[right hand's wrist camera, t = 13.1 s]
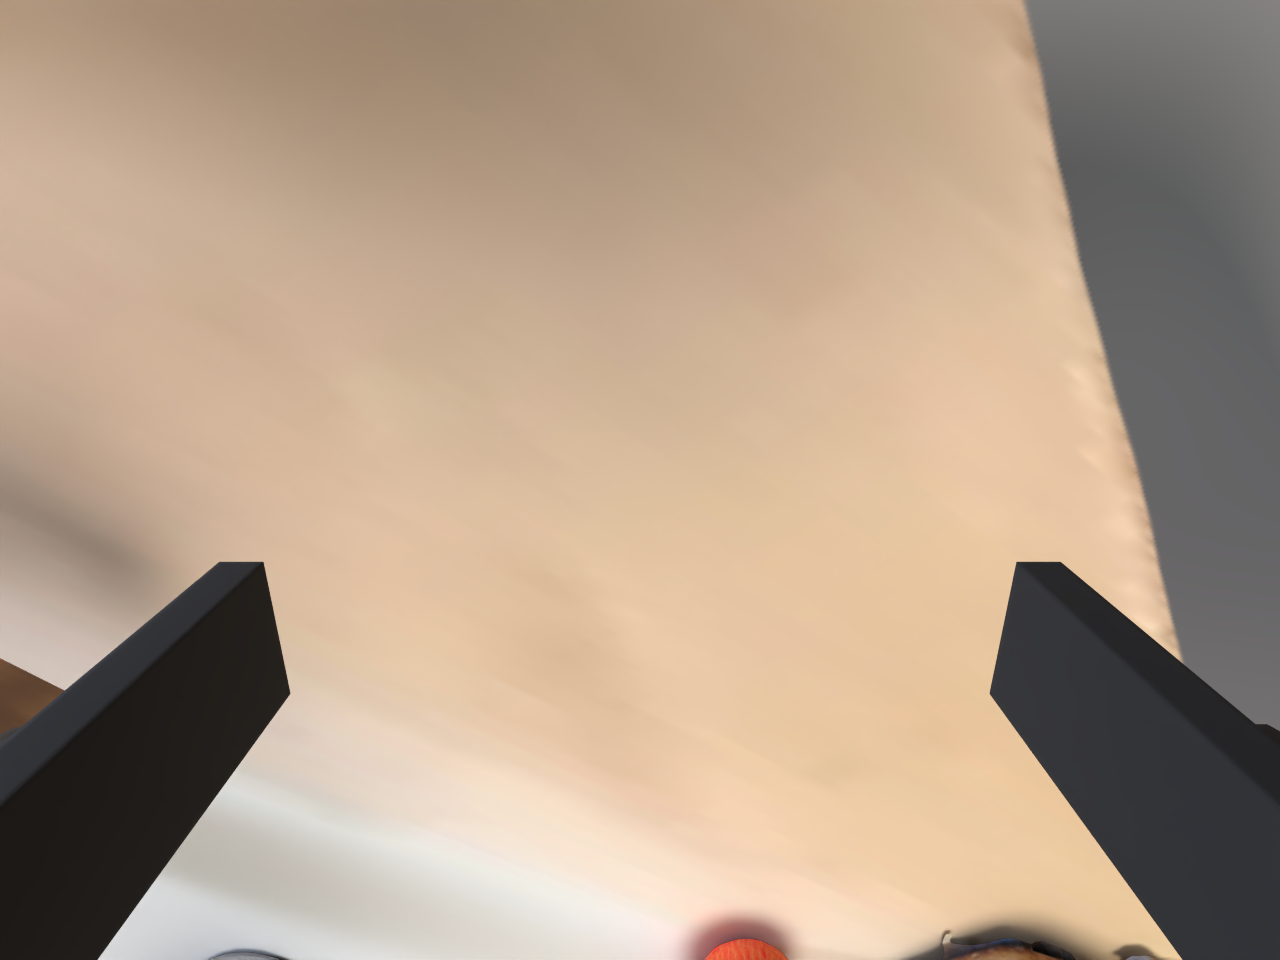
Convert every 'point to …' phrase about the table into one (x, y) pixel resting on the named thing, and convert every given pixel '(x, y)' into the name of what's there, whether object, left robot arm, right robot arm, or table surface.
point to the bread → (1010, 951)
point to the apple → (745, 951)
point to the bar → (22, 696)
